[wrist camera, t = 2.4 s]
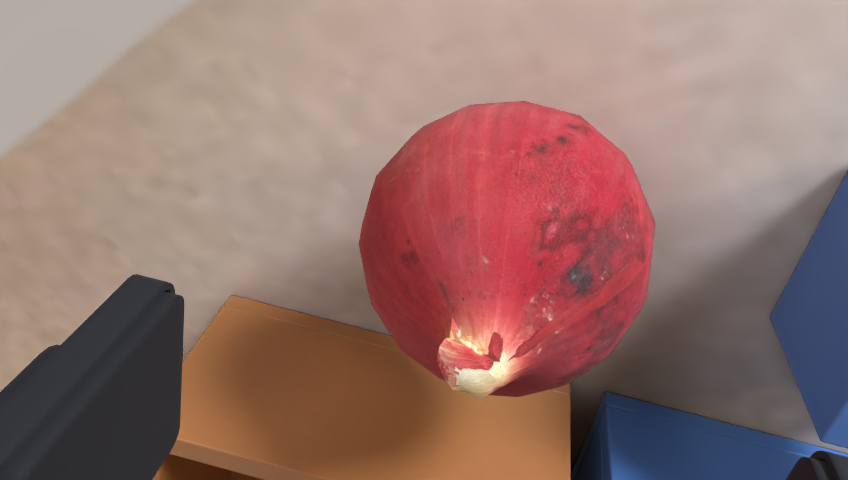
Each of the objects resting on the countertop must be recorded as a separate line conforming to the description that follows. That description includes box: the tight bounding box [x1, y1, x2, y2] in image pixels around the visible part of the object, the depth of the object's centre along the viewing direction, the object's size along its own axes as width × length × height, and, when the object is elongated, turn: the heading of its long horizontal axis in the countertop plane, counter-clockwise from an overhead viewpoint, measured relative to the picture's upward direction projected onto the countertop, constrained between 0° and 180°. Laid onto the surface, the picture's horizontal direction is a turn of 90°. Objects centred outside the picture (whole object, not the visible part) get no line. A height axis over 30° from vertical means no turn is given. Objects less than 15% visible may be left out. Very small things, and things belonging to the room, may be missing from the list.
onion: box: [359, 101, 655, 400], centre depth 15 cm, size 6×6×8 cm
